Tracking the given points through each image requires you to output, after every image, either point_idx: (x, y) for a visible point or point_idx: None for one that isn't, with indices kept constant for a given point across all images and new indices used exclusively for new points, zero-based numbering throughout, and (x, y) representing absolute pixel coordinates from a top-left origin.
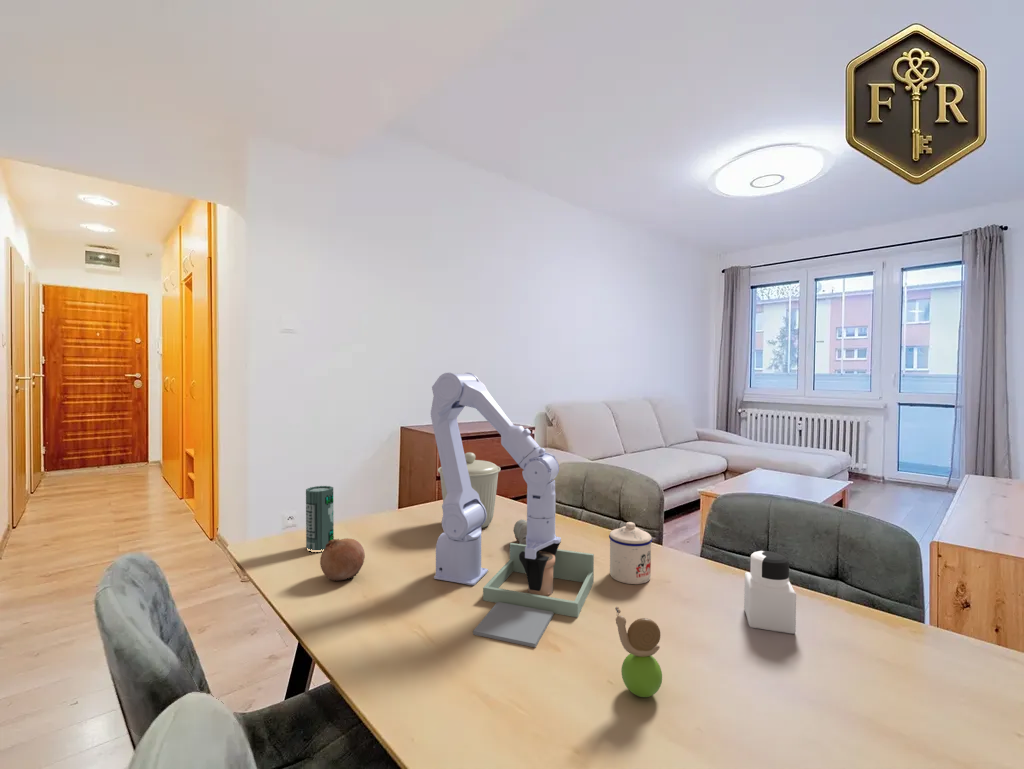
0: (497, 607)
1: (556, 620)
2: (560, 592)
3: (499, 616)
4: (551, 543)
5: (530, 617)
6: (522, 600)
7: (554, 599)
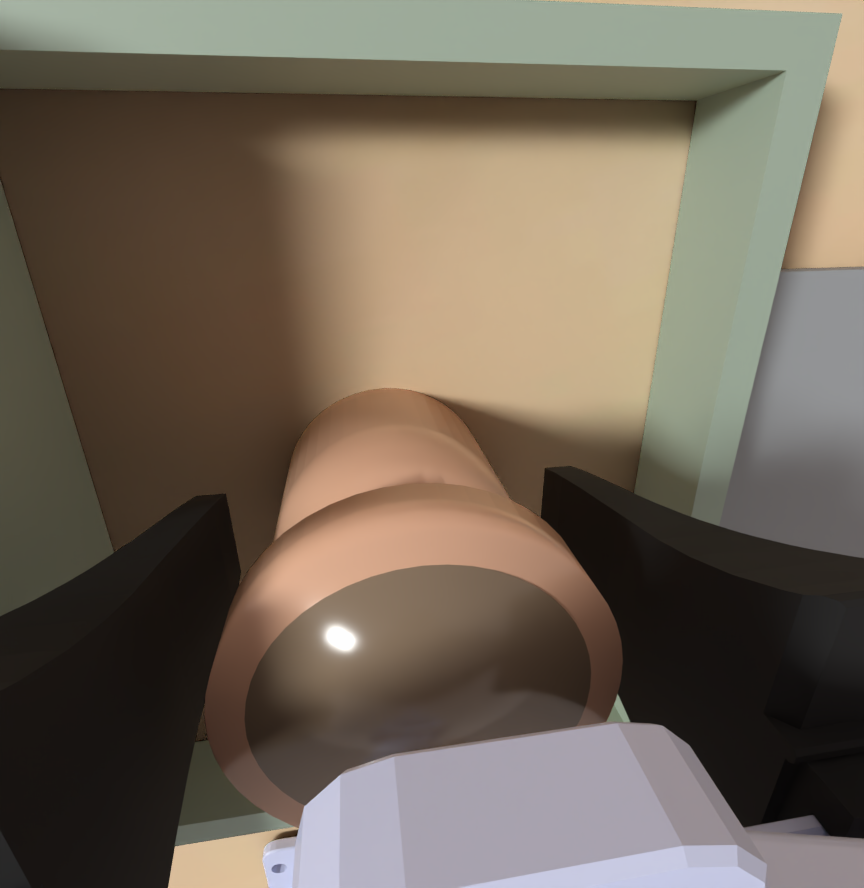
0: None
1: (792, 226)
2: (343, 331)
3: None
4: (768, 862)
5: (830, 399)
6: None
7: (769, 286)
